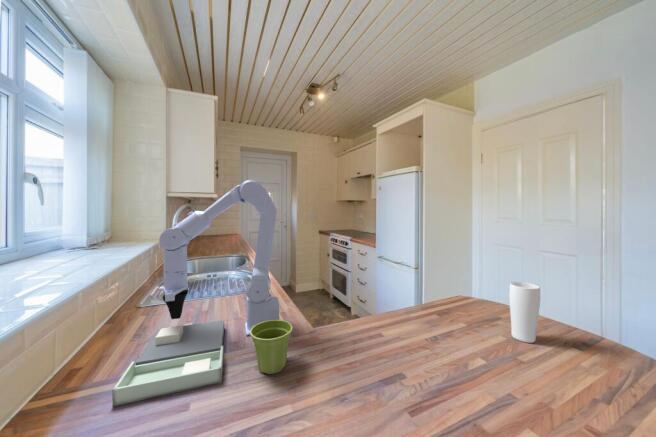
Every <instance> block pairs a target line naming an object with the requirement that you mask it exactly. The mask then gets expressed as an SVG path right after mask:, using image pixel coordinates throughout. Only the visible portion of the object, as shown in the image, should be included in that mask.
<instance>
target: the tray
mask: <svg viewBox="0 0 656 437" xmlns="http://www.w3.org/2000/svg"><path fill="white" fill-rule="evenodd" d="M208 358H211V369H207V370H202V371H197V372H192V373H187V374H182V371H183V368H184V365H185V363H187V362H192V361H197V360H203V359H208ZM223 365H224V345H222V346H221V350H219V351H214V352H208V353H203V354H197V355H192V356H186V357H181V358H175V359H170V360H164V361H158V362H153V363H147V364H142V365H136V361H135V360H134V361H131V362H130V364H129V366H128V367H127V368H126V370H125V371H124V372H123V374H122V376H121V377H120V378H119V380H118V381H117V383H116V384H115V386H114V387H113V389H111V390H112V392H111V394H112V407H116V406H120V405H121V406H122V405H126V404H130V403H135V402H138V401H143V400H147V399H153V398H157V397H162V396H165V395H170V394H175V393H180V392H184V391H185V392H186V391H188V390H193V389H198V388H201V387H202V388H203V387H207V386H212V385H216V384H221V383H222V380H223V379H222V378H223V367H224V366H223ZM181 374H182V375H181Z"/></svg>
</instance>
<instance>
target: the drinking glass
mask: <svg viewBox="0 0 656 437" xmlns="http://www.w3.org/2000/svg"><path fill="white" fill-rule="evenodd" d="M508 304H509V313H510V314H509V316H510V325H511V327H510V329H511V332H510V334H511V336H512V337H513V339H515V340H517V341H520V342H523V343H527V344H530V343H535V342H536V340H537V329H538V328H537V327H538V322H539V321H538V320H539V314H540V309H541V308H540V307H541V287H540V286H539V285H536V284H534V283H530V282H525V281H524V282H523V281H511V282H509V287H508Z"/></svg>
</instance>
